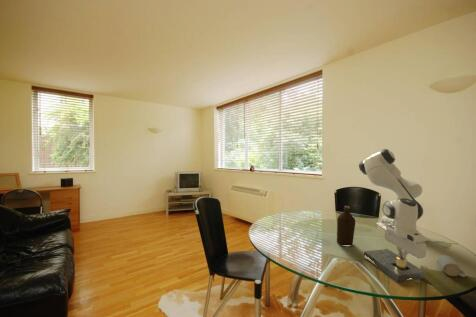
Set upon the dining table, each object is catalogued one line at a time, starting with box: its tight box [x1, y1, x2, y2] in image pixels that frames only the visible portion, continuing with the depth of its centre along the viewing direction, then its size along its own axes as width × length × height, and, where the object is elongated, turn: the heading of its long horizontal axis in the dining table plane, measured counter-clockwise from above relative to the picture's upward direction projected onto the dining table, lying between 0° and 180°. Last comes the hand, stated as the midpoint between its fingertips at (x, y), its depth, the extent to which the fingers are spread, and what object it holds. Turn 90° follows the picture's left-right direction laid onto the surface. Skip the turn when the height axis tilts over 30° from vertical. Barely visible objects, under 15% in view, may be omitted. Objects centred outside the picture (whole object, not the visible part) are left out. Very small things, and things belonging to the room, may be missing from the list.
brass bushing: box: [395, 255, 408, 271], centre depth 116 cm, size 4×4×8 cm
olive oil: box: [336, 205, 356, 246], centre depth 145 cm, size 11×11×25 cm
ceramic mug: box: [436, 254, 467, 278], centre depth 116 cm, size 11×8×8 cm
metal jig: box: [363, 248, 426, 283], centre depth 121 cm, size 22×16×4 cm
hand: (402, 256), depth 115 cm, fingers closed
